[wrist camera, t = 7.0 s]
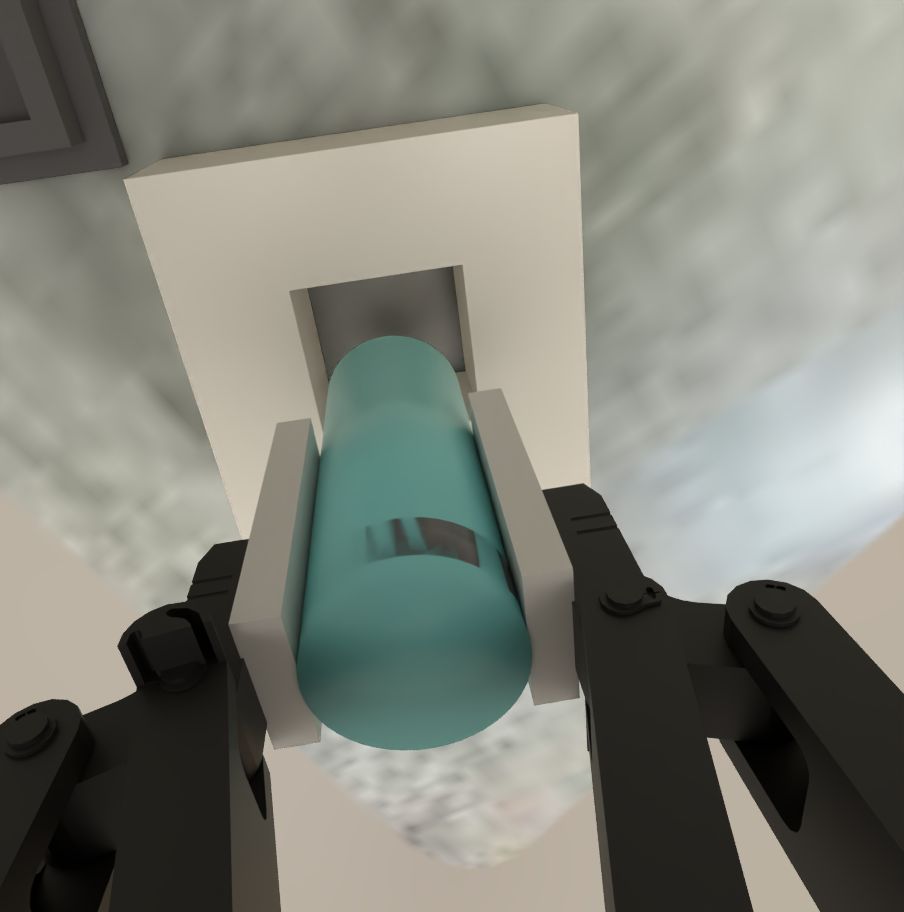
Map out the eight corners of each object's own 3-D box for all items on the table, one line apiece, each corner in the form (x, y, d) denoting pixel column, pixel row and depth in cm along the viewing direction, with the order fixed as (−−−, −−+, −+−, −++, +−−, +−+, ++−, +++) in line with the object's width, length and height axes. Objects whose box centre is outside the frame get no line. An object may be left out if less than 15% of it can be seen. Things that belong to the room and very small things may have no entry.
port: (160, 159, 22) (122, 179, 19) (545, 103, 23) (578, 113, 19) (259, 487, 28) (245, 549, 25) (563, 438, 29) (590, 493, 25)
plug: (314, 346, 19) (270, 599, 10) (451, 325, 19) (524, 557, 10) (342, 465, 21) (324, 766, 12) (467, 445, 21) (539, 729, 12)
